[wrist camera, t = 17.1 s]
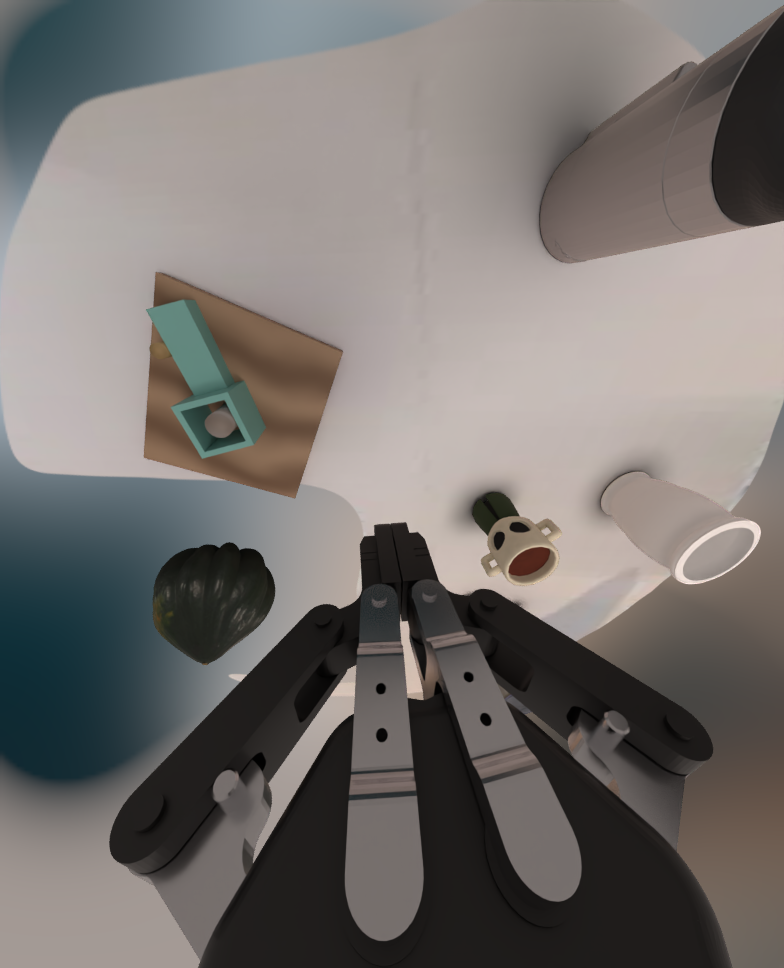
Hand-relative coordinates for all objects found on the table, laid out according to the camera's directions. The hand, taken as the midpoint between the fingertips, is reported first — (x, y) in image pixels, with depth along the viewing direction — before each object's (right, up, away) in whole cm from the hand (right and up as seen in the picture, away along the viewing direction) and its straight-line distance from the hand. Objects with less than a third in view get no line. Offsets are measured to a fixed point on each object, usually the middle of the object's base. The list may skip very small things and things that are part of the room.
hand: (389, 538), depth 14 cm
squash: (-25, -10, +34) cm, 43 cm away
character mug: (+16, -1, +35) cm, 38 cm away
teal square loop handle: (-19, +14, +19) cm, 30 cm away
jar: (+39, +1, +37) cm, 53 cm away
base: (-18, +12, +22) cm, 31 cm away
